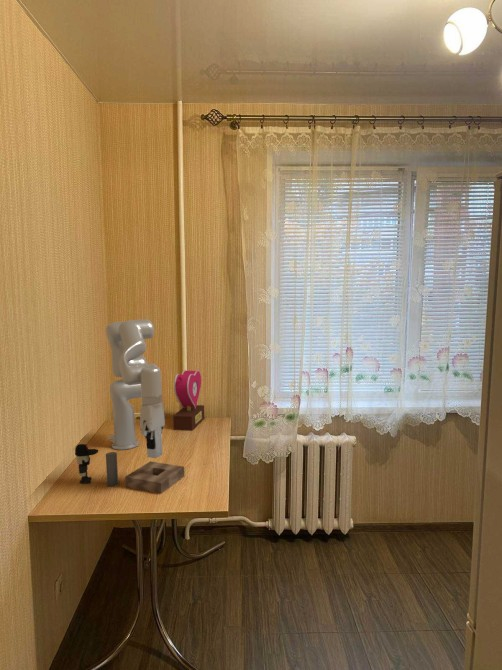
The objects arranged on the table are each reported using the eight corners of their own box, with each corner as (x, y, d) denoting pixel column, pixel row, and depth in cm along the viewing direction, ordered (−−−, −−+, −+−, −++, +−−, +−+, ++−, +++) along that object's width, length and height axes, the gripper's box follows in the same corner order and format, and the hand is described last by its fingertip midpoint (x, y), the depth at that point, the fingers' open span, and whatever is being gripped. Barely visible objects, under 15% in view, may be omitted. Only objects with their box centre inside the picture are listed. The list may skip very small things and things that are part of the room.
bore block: (125, 486, 177) (125, 476, 176) (150, 470, 191) (150, 461, 191) (161, 493, 170) (161, 483, 170) (184, 476, 185) (184, 466, 185)
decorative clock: (190, 432, 239) (188, 374, 235) (171, 431, 241) (168, 374, 237) (204, 418, 263) (203, 365, 259) (187, 417, 265) (185, 365, 261)
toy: (99, 484, 180) (96, 446, 178) (75, 486, 178) (72, 448, 176) (100, 476, 187) (98, 439, 185) (78, 478, 185) (75, 441, 183)
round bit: (105, 485, 178) (103, 455, 177) (111, 481, 182) (110, 451, 181) (113, 487, 177) (112, 456, 175) (120, 483, 180) (118, 452, 179)
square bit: (147, 457, 178) (145, 426, 177) (153, 453, 182) (152, 423, 181) (156, 458, 177) (154, 427, 176) (162, 454, 180) (160, 424, 179)
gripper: (156, 394, 186) (158, 439, 188) (129, 404, 171) (132, 453, 173) (172, 395, 183) (174, 441, 185) (147, 405, 168) (149, 455, 170)
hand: (154, 446), depth 179 cm, fingers closed on square bit, 4 cm apart
